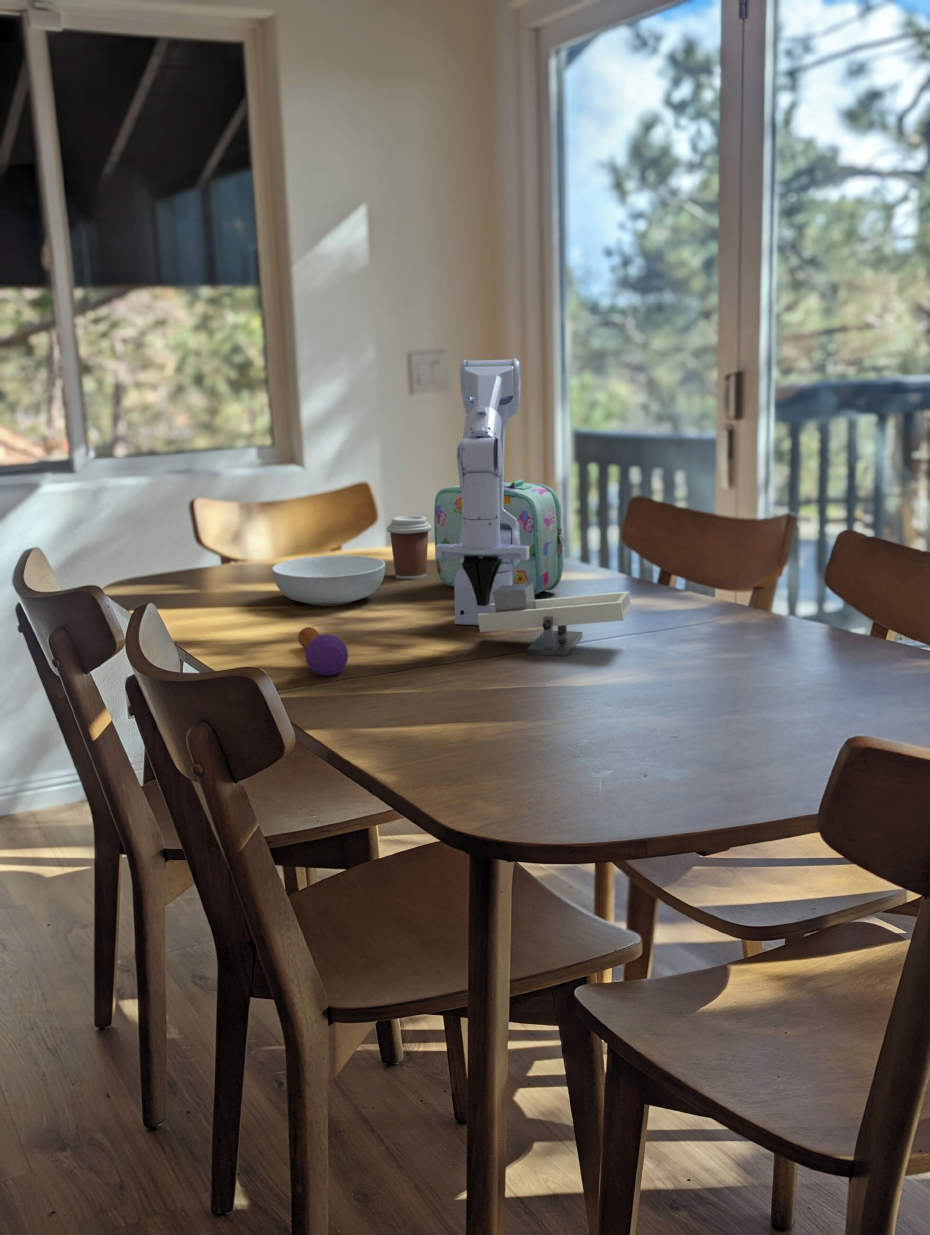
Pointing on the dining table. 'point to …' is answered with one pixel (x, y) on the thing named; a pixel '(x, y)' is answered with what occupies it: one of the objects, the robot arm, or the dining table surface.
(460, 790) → the dining table surface
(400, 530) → the coffee cup
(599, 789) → the dining table surface
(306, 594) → the serving bowl
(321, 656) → the kendama
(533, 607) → the block
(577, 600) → the balance beam
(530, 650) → the beam stand
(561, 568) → the lunch box
